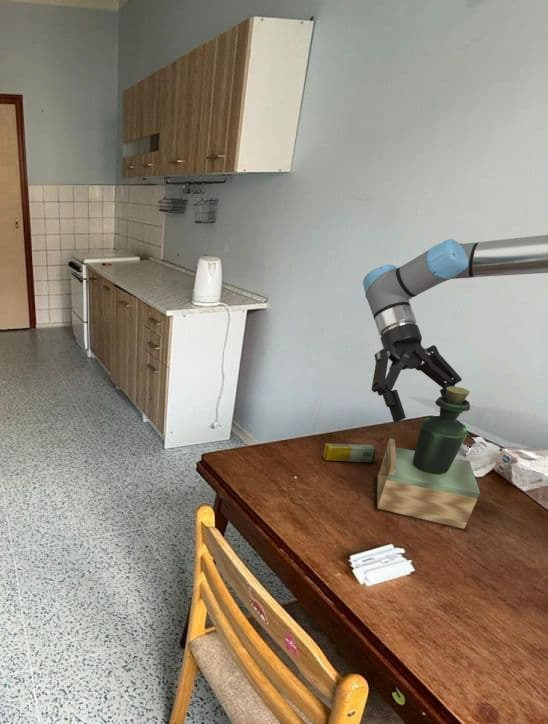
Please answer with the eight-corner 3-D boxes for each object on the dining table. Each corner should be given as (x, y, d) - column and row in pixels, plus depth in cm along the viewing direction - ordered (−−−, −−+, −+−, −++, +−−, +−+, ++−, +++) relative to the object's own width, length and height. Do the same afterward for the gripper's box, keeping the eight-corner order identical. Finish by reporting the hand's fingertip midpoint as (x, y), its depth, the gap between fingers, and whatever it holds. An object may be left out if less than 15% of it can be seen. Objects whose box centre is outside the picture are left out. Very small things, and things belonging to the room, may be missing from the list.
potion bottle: (461, 476, 99) (493, 396, 91) (424, 478, 98) (453, 398, 90) (434, 456, 106) (461, 381, 98) (399, 458, 106) (424, 383, 97)
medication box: (369, 458, 124) (372, 444, 122) (373, 463, 121) (377, 448, 119) (321, 456, 124) (324, 442, 123) (325, 460, 122) (328, 446, 120)
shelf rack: (455, 494, 109) (472, 453, 103) (464, 528, 98) (484, 484, 93) (377, 477, 115) (389, 438, 110) (377, 508, 104) (391, 466, 99)
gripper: (433, 335, 113) (464, 418, 107) (338, 342, 109) (364, 428, 103) (459, 318, 106) (494, 406, 100) (358, 325, 102) (388, 416, 96)
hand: (428, 417), depth 102 cm, fingers open, 13 cm apart
